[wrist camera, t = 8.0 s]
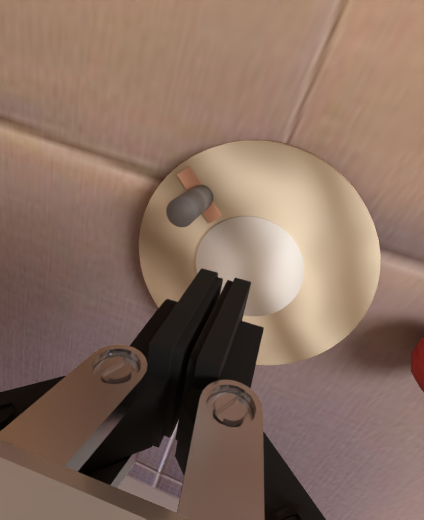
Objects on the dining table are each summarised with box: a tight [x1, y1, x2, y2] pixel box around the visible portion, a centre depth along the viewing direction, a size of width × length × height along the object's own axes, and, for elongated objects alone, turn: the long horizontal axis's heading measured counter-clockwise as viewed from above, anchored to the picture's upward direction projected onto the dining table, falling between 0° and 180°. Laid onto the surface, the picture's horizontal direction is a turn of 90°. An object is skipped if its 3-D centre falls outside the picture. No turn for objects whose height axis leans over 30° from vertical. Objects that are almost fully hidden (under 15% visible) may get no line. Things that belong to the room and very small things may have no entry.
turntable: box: [139, 140, 381, 365], centre depth 27 cm, size 20×20×6 cm
